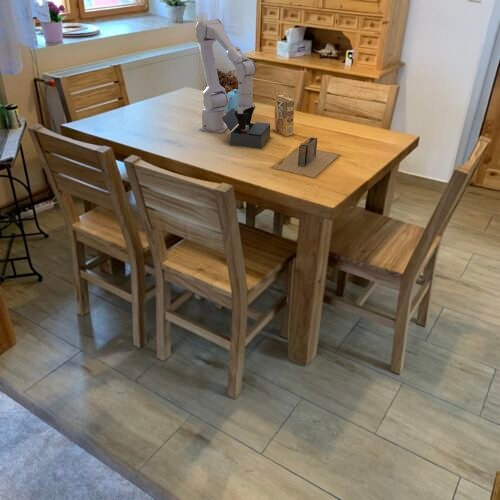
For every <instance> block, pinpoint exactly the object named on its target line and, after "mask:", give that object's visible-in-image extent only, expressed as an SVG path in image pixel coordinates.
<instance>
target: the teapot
mask: <svg viewBox="0 0 500 500" xmlns="http://www.w3.org/2000/svg"><path fill="white" fill-rule="evenodd" d="M226 94H227V96H228V99H229V102H228V105H227V106H226V109H224V112H225V113H226V114H227V113H228V112H229V111H230V110H231V109H232V108H234V109H235V111H238V88H237V89H236V88H235V89H232V91H228V92H227V93H226ZM253 95H254V92H253Z"/></svg>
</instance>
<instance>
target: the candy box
mask: <svg viewBox="0 0 500 500" xmlns="http://www.w3.org/2000/svg"><path fill="white" fill-rule="evenodd" d="M295 100H296V99H294V98H291V97H289V96H287V95H284V94H280V95H275V97H274V123H273V124H274V127H273V131H275V132H276V133H279V134H281V135H283V136H286V137H287V136H293V134H294V121H295V119H294V117H295V102H296V101H295Z"/></svg>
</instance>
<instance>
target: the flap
mask: <svg viewBox="0 0 500 500" xmlns="http://www.w3.org/2000/svg"><path fill="white" fill-rule="evenodd" d="M222 119H223V121H224V122H225V126H227V129H228V130H229V132H232V131H233V130H234V129H235V128H236V127H237V126H238V125H239V124H238V120H237V118H236V116H235V109H234V108H232V109H231V110H230V111H229V112H228V113H227V112H226V113H225V115H224V116H223V117H222Z"/></svg>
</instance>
